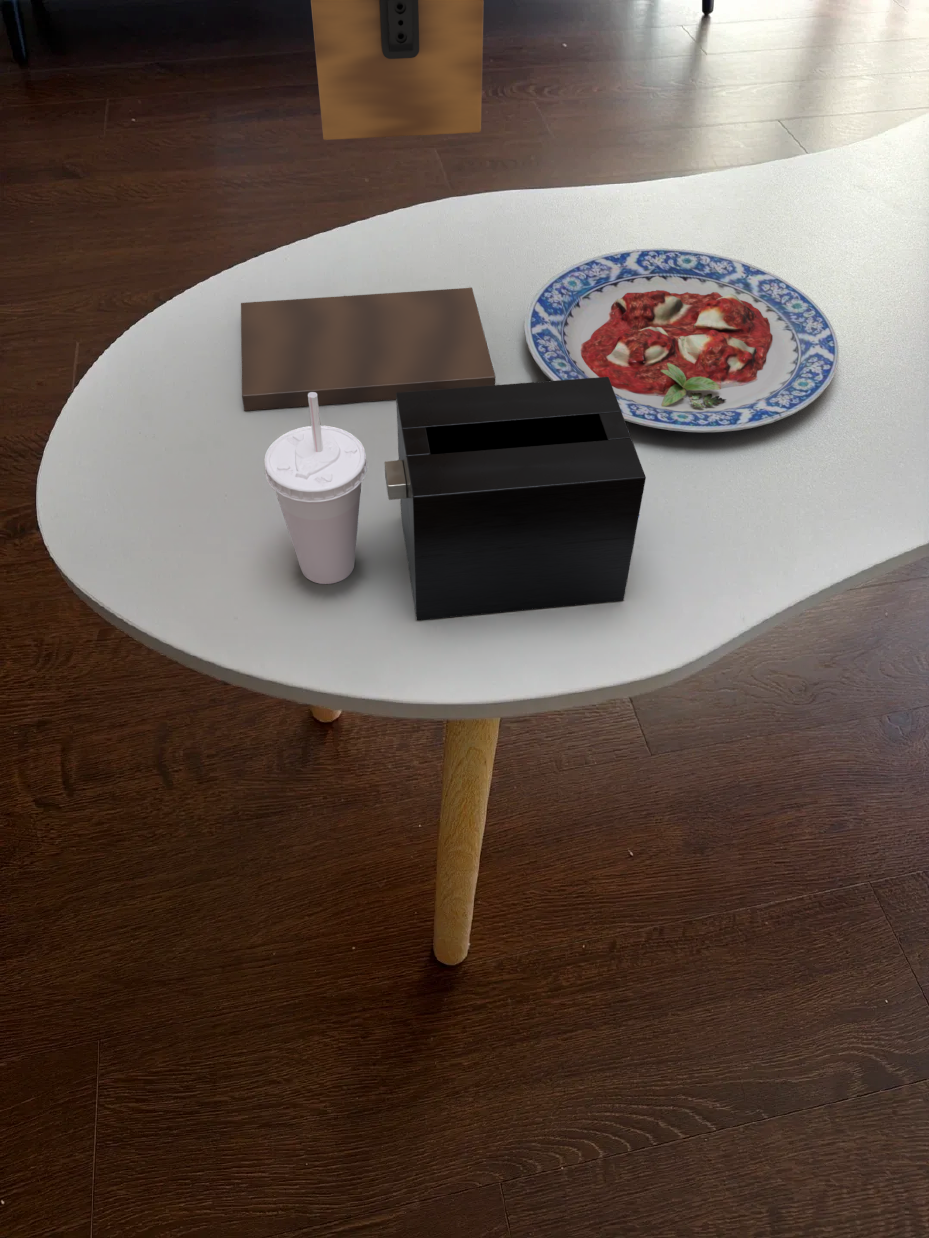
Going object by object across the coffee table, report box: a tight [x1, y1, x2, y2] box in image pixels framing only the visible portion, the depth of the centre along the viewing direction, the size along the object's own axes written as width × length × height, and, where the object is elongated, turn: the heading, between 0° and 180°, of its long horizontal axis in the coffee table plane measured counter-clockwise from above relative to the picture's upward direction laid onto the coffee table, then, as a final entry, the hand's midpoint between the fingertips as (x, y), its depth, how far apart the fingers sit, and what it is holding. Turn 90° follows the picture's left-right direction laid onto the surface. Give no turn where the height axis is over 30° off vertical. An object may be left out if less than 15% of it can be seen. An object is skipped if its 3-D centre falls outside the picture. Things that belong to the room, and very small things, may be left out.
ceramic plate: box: [524, 247, 840, 433], centre depth 91 cm, size 26×26×3 cm
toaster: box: [383, 377, 647, 622], centre depth 72 cm, size 15×10×11 cm, turn 98°
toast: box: [310, 0, 485, 141], centre depth 66 cm, size 10×2×10 cm, turn 97°
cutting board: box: [240, 287, 496, 412], centre depth 91 cm, size 20×13×2 cm, turn 98°
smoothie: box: [264, 392, 368, 585], centre depth 70 cm, size 6×6×14 cm
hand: (399, 47), depth 66 cm, fingers closed on toast
